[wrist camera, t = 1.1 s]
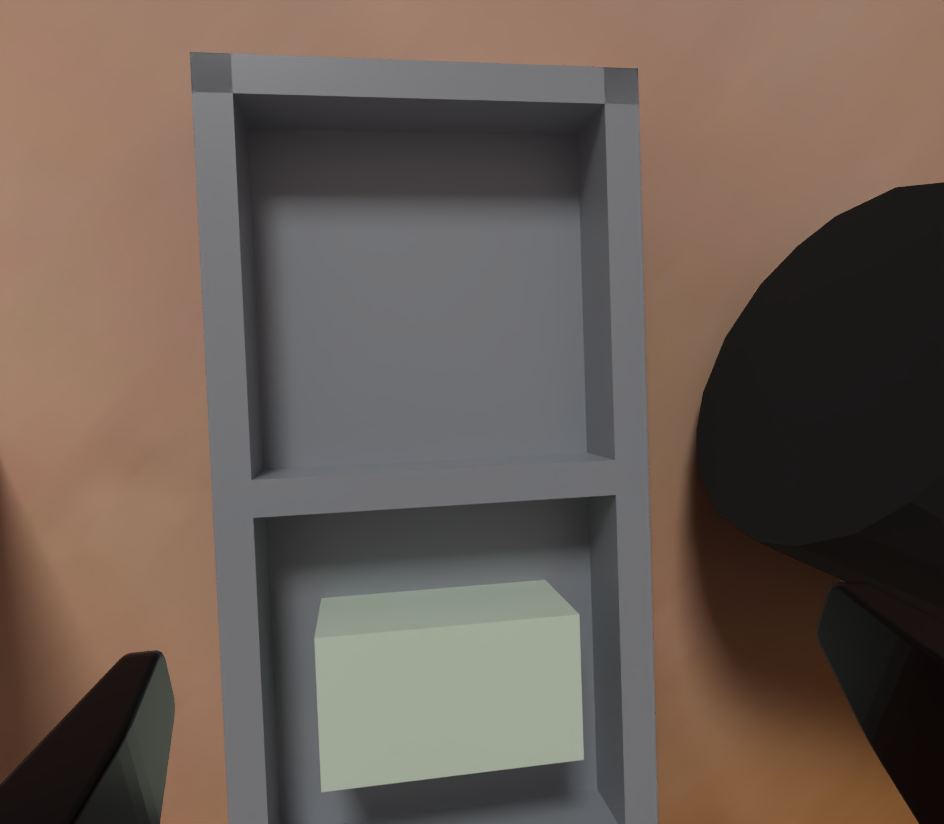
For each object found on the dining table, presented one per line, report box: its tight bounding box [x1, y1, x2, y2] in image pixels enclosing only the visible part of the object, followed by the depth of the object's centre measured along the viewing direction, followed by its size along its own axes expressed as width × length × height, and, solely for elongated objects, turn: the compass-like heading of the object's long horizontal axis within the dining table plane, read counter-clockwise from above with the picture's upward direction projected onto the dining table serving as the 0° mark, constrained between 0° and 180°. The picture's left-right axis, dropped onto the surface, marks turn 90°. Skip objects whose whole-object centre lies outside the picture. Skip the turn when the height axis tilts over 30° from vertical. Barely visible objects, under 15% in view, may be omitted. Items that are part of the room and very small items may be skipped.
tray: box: [190, 52, 658, 824], centre depth 21 cm, size 23×12×4 cm, turn 2°
